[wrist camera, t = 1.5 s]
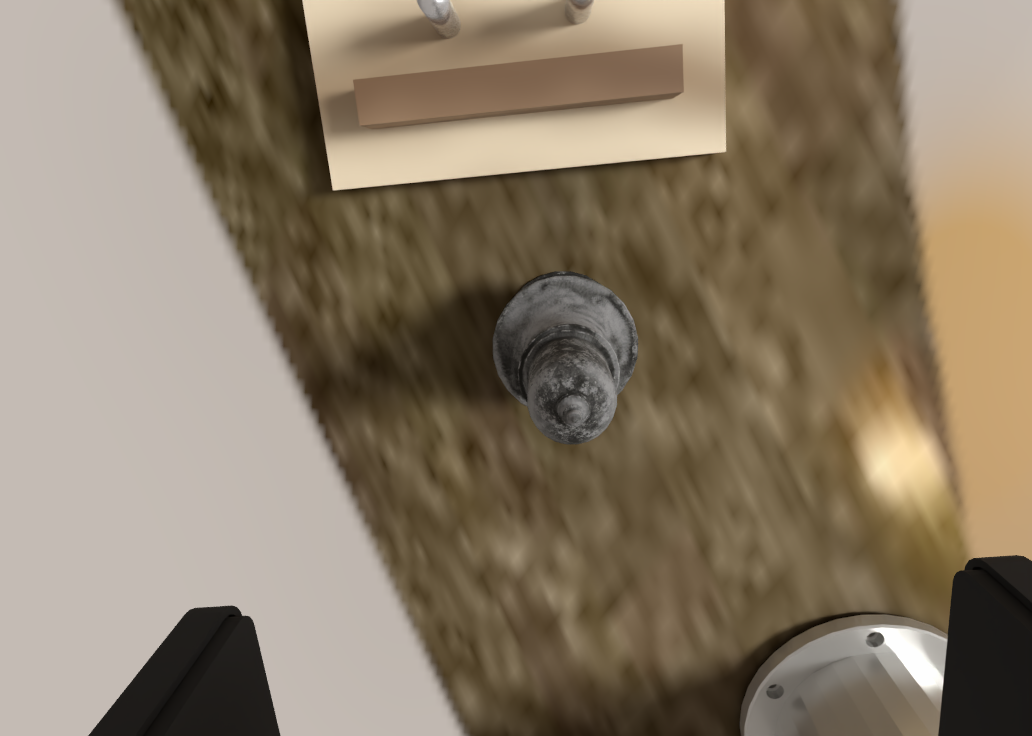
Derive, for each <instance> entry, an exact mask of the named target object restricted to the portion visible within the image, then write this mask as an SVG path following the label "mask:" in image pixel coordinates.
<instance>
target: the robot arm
mask: <svg viewBox="0 0 1032 736" xmlns="http://www.w3.org/2000/svg"><path fill="white" fill-rule="evenodd" d="M740 732H741V736H1032V561H1031V560H1029V559H1027V558H1026V557H1024V556H1017V555H1015V556H1000V557H985V558H973V559H971V560H969V561H968V563H967V564H966V566H965V570H964V571H959V572H957V573H956V574H955V576H954V579H953V586H952V597H951V607H950V617H949V628H948V635H947V634H946V633H944V632H942V631H940V630H939V629H937V628H935V627H933V626H932V625H929V624H926V623H923V622H920V621H917V620H914V619H911V618H906V617H899V616H893V615H886V614H882V615H857V616H852V617H846V618H840V619H835V620H833V621H830V622H827V623H824V624H821V625H818V626H815V627H813V628H811V629H809V630H807V631H805V632H803V633H801V634H799V635H798V636H796V637H794V638H792V639H791V640H789V641H788V642H787V643H785V644H784V645H783V646H782V647H780V648H779V649H778V650H776V651H775V652H774V653H773V654H772V655H771V656H770V657H769V658H768V659H767V660H766V662H765V663H764V664H763V665H762V666H761V667H760V668H759V669H758V671H757V673H756V674H755V676H754V678H753V679H752V681H751V683H750V684H749V686H748V688H747V691H746V694H745V697H744V700H743V703H742V706H741V715H740ZM89 736H280V733H279V728H278V724H277V720H276V715H275V711H274V707H273V702H272V698H271V694H270V690H269V685H268V681H267V677H266V673H265V668H264V664H263V660H262V656H261V652H260V647H259V643H258V639H257V634H256V630H255V626H254V623H253V620H252V619H251V618H250V617H249V616H242V614H241V612H240V610H239V609H238V608H237V607H235V606H220V607H204V608H194V609H191V610H189V611H188V612H187V613H186V614H185V615H184V616H183V618H182V619H181V620H180V621H179V623H178V624H177V625H176V626H175V628H174V629H173V630H172V631H171V633H170V634H169V635H168V636H167V638H166V639H165V640H164V641H163V643H162V644H161V645H160V646H159V648H158V649H157V650H156V651H155V653H154V654H153V655H152V656H151V658H150V659H149V660H148V662H147V663H146V664H145V665H144V666H143V668H142V669H141V670H140V672H139V673H138V674H137V675H136V677H135V678H134V679H133V680H132V682H131V683H130V684H129V685H128V687H127V688H126V689H125V690H124V692H123V693H122V694H121V695H120V697H119V698H118V699H117V700H116V702H115V703H114V704H113V705H112V707H111V708H110V709H109V710H108V712H107V713H106V714H105V715H104V717H103V718H102V719H101V721H100V722H99V723H98V724H97V725H96V727H95V728H94V729H93V731H92V732H91V733H90V734H89Z"/></svg>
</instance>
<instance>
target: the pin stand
mask: <svg viewBox="0 0 1032 736" xmlns="http://www.w3.org/2000/svg"><path fill="white" fill-rule="evenodd" d="M302 1H303V8H304V14H305V20H306V26H307V32H308V39H309V45H310V51H311V57H312V64H313V70H314V76H315V82H316V88H317V95H318V101H319V107H320V113H321V119H322V126H323V132H324V138H325V144H326V150H327V157H328V163H329V169H330V175H331V182H332V188H333V190H346V189H356V188H366V187H376V186H386V185H397V184H407V183H417V182H427V181H437V180H447V179H458V178H468V177H478V176H488V175H498V174H508V173H519V172H529V171H539V170H549V169H559V168H570V167H580V166H590V165H600V164H610V163H620V162H631V161H641V160H651V159H661V158H671V157H681V156H692V155H702V154H712V153H720V152H726V107H725V13H724V0H302Z"/></svg>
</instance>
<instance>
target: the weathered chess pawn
mask: <svg viewBox="0 0 1032 736" xmlns="http://www.w3.org/2000/svg"><path fill="white" fill-rule="evenodd" d="M637 355H638V336H637V332H636V328H635V324H634V320H633V318H632V317H631V315H630V313H629V311H628V309H627V308H626V306H625V304H624V303H623V302H622V301H621V300H620V299H619V298H618V297H617V296H616V295H615V294H614V293H613V292H612V291H611V290H610V289H608V288H606V287H604V286H603V285H601V284H599V283H598V282H596V281H594V280H593V279H591V278H589V277H588V276H586V275H582V274H578V273H574V272H552V273H548V274H545V275H541V276H539V277H537V278H535V279H534V280H532V281H530V282H529V283H527V284H526V285H525V286H524V287H523V288H522V289H521V290H520V291H519V292H518V293H517V294H516V295H515V297H514V298H513V299H512V300H511V301H510V302H509V303H508V304H507V305H506V307H505V308H504V310H503V312H502V314H501V315H500V317H499V319H498V321H497V324H496V328H495V332H494V336H493V359H494V362H495V366H496V369H497V372H498V375H499V377H500V379H501V380H502V382H503V383H504V385H505V387H506V388H507V390H508V391H509V392H510V393H511V394H512V395H513V396H514V397H515V398H516V399H517V400H518V401H519V402H521V403H522V404H524V405H526V406H527V407H528V410H529V413H530V417H531V418H532V420H533V422H534V423H535V425H536V427H537V428H538V429H539V430H540V431H541V432H542V433H543V434H544V435H545V436H546V437H548V438H550V439H552V440H554V441H555V442H559V443H563V444H580V443H584V442H588V441H590V440H592V439H594V438H596V437H597V436H599V435H600V434H601V433H602V432H603V431H604V430H605V429H606V428H607V427H608V425H609V423H610V422H611V420H612V418H613V416H614V412H615V409H616V406H617V395H618V394H619V393H620V392H621V391H622V390H623V388H624V386H625V385H626V383H627V382H628V380H629V379H630V377H631V376H632V373H633V370H634V367H635V363H636V360H637Z"/></svg>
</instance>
